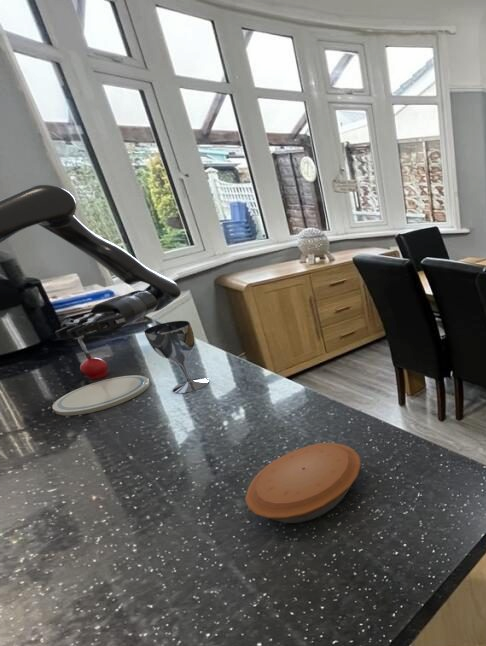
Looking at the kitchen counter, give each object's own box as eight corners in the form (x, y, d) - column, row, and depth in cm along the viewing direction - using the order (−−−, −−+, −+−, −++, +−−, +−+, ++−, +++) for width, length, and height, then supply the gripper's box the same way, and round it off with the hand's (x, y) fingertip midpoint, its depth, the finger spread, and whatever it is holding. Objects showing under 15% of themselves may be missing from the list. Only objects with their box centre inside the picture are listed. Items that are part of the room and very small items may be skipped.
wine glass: (218, 381, 95) (196, 324, 89) (179, 397, 88) (153, 336, 82) (202, 374, 98) (180, 318, 92) (164, 389, 92) (137, 330, 86)
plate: (39, 424, 80) (36, 419, 80) (72, 389, 93) (70, 385, 93) (139, 402, 87) (137, 397, 87) (157, 372, 100) (155, 369, 100)
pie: (226, 531, 54) (214, 504, 52) (297, 457, 68) (289, 433, 66) (329, 542, 52) (321, 515, 50) (380, 463, 66) (375, 439, 64)
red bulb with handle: (101, 379, 98) (73, 325, 92) (80, 381, 97) (50, 327, 91) (116, 371, 102) (90, 318, 96) (95, 372, 101) (68, 320, 95)
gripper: (85, 300, 105) (21, 322, 89) (142, 296, 107) (89, 318, 91) (98, 326, 108) (38, 352, 92) (153, 322, 110) (104, 347, 94)
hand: (64, 335), depth 92 cm, fingers closed on red bulb with handle
